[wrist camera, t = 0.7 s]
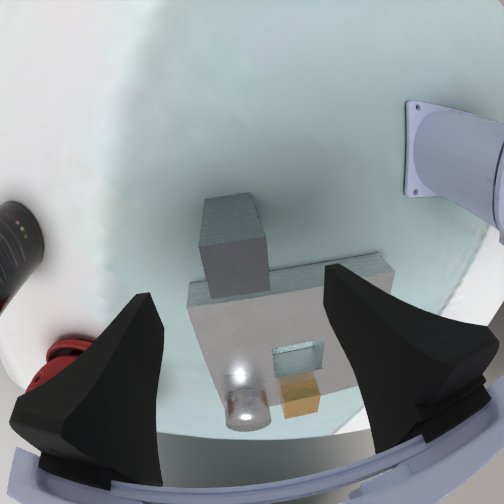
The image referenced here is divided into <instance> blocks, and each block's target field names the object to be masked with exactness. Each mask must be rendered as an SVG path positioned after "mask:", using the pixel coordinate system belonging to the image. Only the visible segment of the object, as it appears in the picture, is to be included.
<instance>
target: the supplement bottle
mask: <svg viewBox="0 0 504 504" xmlns="http://www.w3.org/2000/svg"><path fill="white" fill-rule="evenodd" d="M42 251H43V245H42V238H41V234H40V231H39V228H38V226H37V224H36V222H35V220H34V219H33V217H32V216H31V214H30V213H29V212H28V211H27V210H26V209H25V208H23V207H22V206H20V205H18V204H15V203H4V204H2V205H0V316H1V314H2V313H3V311H4V310H5V308H6V307H7V306H8V304H9V303H10V301H11V300H12V299H13V297H14V296H15V295H16V293H17V292H18V291H19V289H20V288H21V287H22V286H23V284H24V283H25V282H26V280H27V279H28V278H29V277H30V275H31V274H32V273H33V272H34V270H35V269H36V268H37V267H38V265H39V263H40V261H41V258H42Z"/></svg>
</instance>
